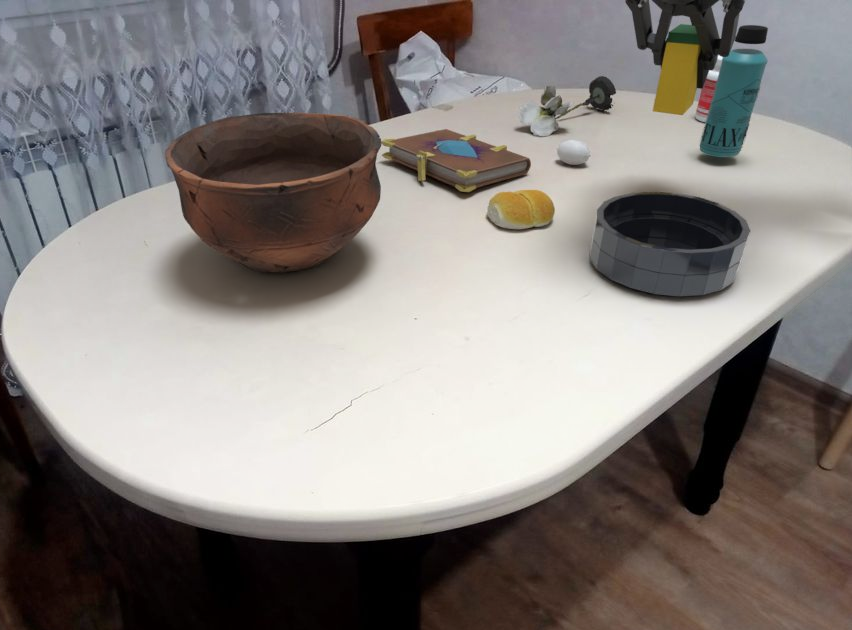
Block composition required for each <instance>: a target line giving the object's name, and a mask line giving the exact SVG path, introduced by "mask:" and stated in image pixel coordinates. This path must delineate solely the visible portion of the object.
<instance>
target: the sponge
mask: <svg viewBox="0 0 852 630" xmlns="http://www.w3.org/2000/svg"><path fill="white" fill-rule="evenodd" d="M667 38H668V39H667ZM667 38H666V39H667V44H666V48H665V53H664V58H663V63H662V68H661V67H660V73H659V78H658V79H659V80H658V83H657V88H656V93H655V98H654V101H653V107H652V112H653V113H661V114H670V115H677V116H684V114H685V113H686V112H688V110H689V109H690V108H691V107H692V106H693V105H694V102H695V97H696V94H697V89H698V88H697V62H698V57H699V54H700V52H701V45H700V42H699V39H698V35H697V32H696V29H695V26H692V24H684V23H680V24H678V25H676V27H674V28H673V29H671V30H669V32H668V34H667Z"/></svg>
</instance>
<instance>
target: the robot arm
mask: <svg viewBox="0 0 852 630" xmlns="http://www.w3.org/2000/svg"><path fill="white" fill-rule="evenodd" d="M651 1H652V2H653V3H654V4H655V5H656V6H657V7H658V8H659V9H660V10H661V12H660V16H659V19H658V25H657V27H656V33H654V32H653V31H654V29H653V23H652V14H651V7H650V0H625V2H624V3H625V4H626V6H627V7H628V9H629V10H630V12H631V15H632V16H631V17H632V22H633V28H634V35H635V40H636V41H635V42H636V47H637V49H639V50H640V51H645V50H647V49H650V50H651V53H652V57H653V58H652V59H653V64H654V65H655V66H660V69H661V68H662V63H663V58H664V53H665V48H666V44H667V39H668V34H669V32H670V27H671V24H672V21H673V17H679V16H681V17H682V16H683V17H687V18H689V21H690V25H692V26H695V29H696V32H697V35H698V39H699V42H700V45H701V52H700V54H699V57H698V62H697V89H700V90H702V88H703V86H704V83H705V80H706V78H707V75H708V72H709V70H713V69H714V67H715V65H716V62H717V59H718V55H720V56H721V57H728V56H729V54H730V51H732V49H733V45H734V43H735V38H736V35H737V33H738V27H739V26H738V25H739V20H740V19H739V18H740V15H741V14H740V13H741V12H742V10H743V7H744V6H745V4H746V0H721V2H722V7H723V10H722V11H723V13H725V14H724V17H723V23H722V28H721V36H720V34H719V31H718V30H719V29H718V26H717V23H716V22H717V21H716V19H715V15H714V10H713V6H714V5H715V4H717V3H718V2H719V1H720V0H651Z"/></svg>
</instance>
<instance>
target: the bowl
mask: <svg viewBox="0 0 852 630" xmlns="http://www.w3.org/2000/svg"><path fill="white" fill-rule="evenodd" d="M381 141H382V138H381V136H380V135H379V133H378V131H377V130H376V129H375V128H373V126H371V125H369V124H367V122H366V121H364V120H363V119H361V118H360V119H359V118H358V117H354V116H349V115H346V114H338V113H336V114H334V113H316V112H315V113H312V112H261V113H253V114H251V113H250V114H244V115H243V114H242V115H235V116H227V117H222V118H219V119H216V120H213V121H211V122H208V123H204V124H202V125H199V126H197V127H194V128H192V129H190V130H188V131H186V132H184V133H182V134H181V135H179V136H178V137H176V138H175V139H174V140H173V141H171V142H170V144H169V145H168V147H167V148H166V149H165V155H164V158H165V161H166V165H167V167H168V168H169V169H170V170H171V174H172V176H173V178H174V180H175V181H174V182H175V185H176V187H177V190H178V195H179V201H180V207H181V212H182V216H183V219H184V221H186V223H187V224H188V225H189V227H190V229H191V230H192V231H193V232H194V233H195V235H196V236H198V238H199V239H200V240H201V241H202V242H203V243H205V245H207V246H208V247H210V248H211V249H213V250H214V251H216V252H217V253H219V254H220V255H222V256H224V257H227V258H229V259H231V260H234V261H235V262H237V263H238V264H242V265H245V266H247V268H250V269H252V270H254V271H256V272H262V273H278V274H280V273H281V274H282V273H289V272H296V271H302V270H306V269H310V268H313V267H316V266H318V265H320V264H322V263H324V262H325V261H327V260H328V259H329V258H330V257H332V256H333V255H335V254H336V253H337V252H339V250H341V249H343V248H344V247H345V246H346V245H347V244H348V243H349V242H351V241H352V240H353V239H354V238H355V237H356V236H357V234H359V233H360V232H361V231H362V229H363V228H364V227H365V226H366V225H367V224H368V222H369V221H370V219H371V218H372V217H373V215H374V213H375V211H376V210H377V207H378V205H379V203H380V200H381V193H382V192H381V191H382V185H381V181H380V177H379V173H378V170H377V169H378V168H377V157H378V153H379V151H380V149H381V147H382V144H381Z"/></svg>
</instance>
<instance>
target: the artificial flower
mask: <svg viewBox="0 0 852 630" xmlns="http://www.w3.org/2000/svg"><path fill="white" fill-rule="evenodd" d="M588 92H589V96H588V98H586V100H585V101H584V102H580V103H579V104H577V105H575V106H574V107H572V106H573V105H574V100H569V101H568V102H565V103H563V98H562V97H561V95H557V96H556V94H557V89H556V86H555V85H553V84H551V85H546V86H545V87H544V89H543V91H542V93H541V96H540V104H541V105H539V103H537V102H534V101H531V100H527V101H526V102H525V103H524V104H523V105H521V106H519V107H518V109H517V117H518V120H519V122H520V123H521V124H522V125H526V126H528V125H530V132H532V133H533V134H532V135H533V136H535V137H538V136H539V137H542V138H543V137H548V136H550V135H551V134H553V133H554V132H557V131H558V130H559V123H558V122H557V120H558V119H560V118H562V117H565V116H566V115H567V114H568V113H571V112H572V111H574V110H576V109H579V108H580V107H582V106H583V107H585V106H586V107H587V106H589V105H590V106H591V107H592V108H593V109H595V110H596V109H598V110H600V111H609V110H611V109H612V108H613V107H614V104H616V102H613V98H612V96H614V95H616V94H617V90H616V87H615V85H614V83H613V82H612V80H611V79H610V78H608V77H607V76H604V75H600V76H597V77H596V78H594V79H593V80H592V81H591V82H590V83H589V85H588ZM612 103H613V104H612ZM571 107H572V108H571Z"/></svg>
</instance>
